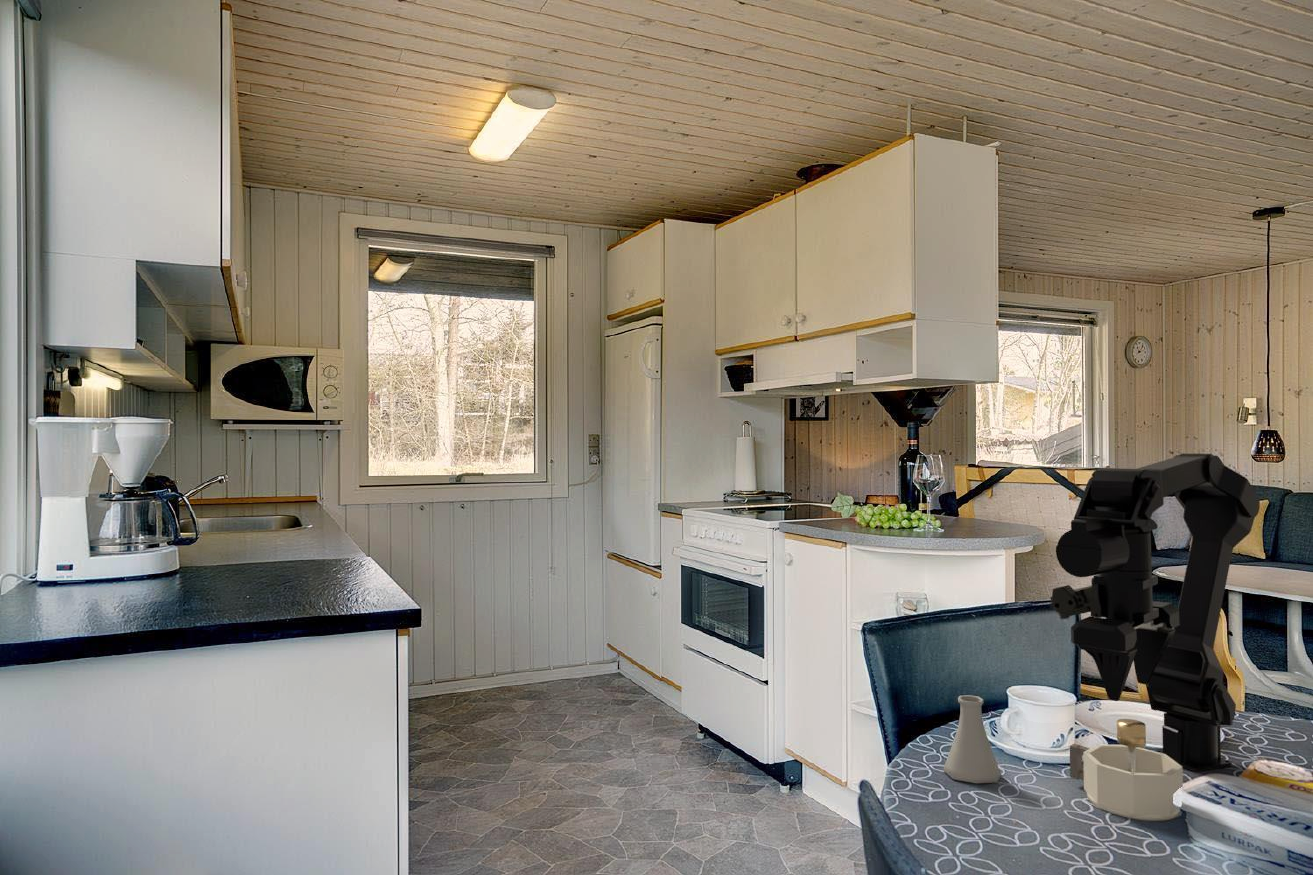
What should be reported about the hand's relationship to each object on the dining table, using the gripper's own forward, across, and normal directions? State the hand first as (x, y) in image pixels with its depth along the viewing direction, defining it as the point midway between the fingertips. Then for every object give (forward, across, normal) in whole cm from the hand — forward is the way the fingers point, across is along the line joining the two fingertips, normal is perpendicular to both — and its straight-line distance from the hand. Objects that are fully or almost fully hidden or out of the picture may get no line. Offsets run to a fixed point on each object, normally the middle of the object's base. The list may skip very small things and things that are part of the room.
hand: (1128, 691), depth 105 cm
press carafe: (+12, +4, +1) cm, 13 cm away
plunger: (+11, +5, +2) cm, 12 cm away
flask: (+12, +11, -16) cm, 22 cm away
